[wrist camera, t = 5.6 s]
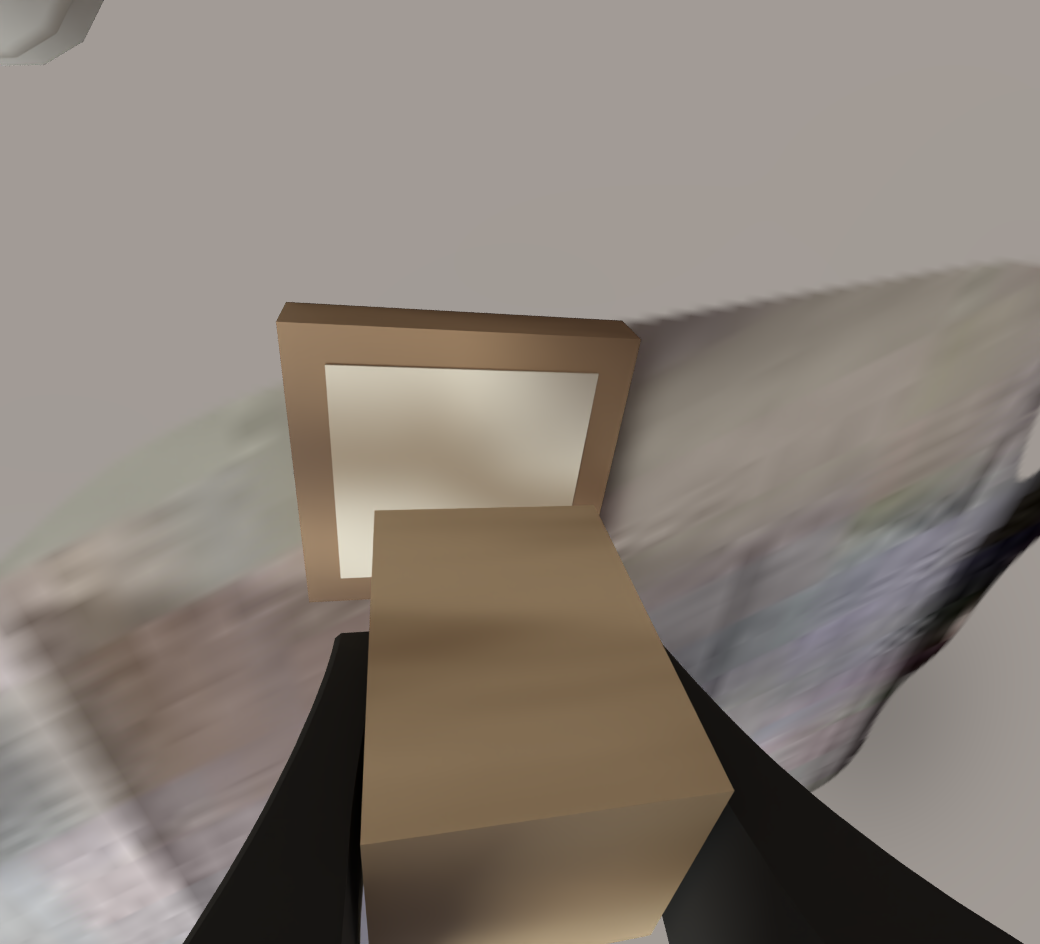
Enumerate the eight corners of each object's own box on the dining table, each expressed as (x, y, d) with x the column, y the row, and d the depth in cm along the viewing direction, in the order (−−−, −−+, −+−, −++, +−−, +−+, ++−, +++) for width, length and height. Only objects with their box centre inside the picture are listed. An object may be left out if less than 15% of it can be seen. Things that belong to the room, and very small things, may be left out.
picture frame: (571, 558, 21) (582, 588, 20) (314, 569, 19) (309, 603, 18) (621, 321, 16) (641, 340, 15) (286, 302, 14) (275, 322, 13)
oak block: (562, 648, 14) (650, 934, 9) (379, 662, 13) (373, 990, 9) (593, 505, 12) (734, 791, 7) (374, 510, 11) (360, 844, 6)
